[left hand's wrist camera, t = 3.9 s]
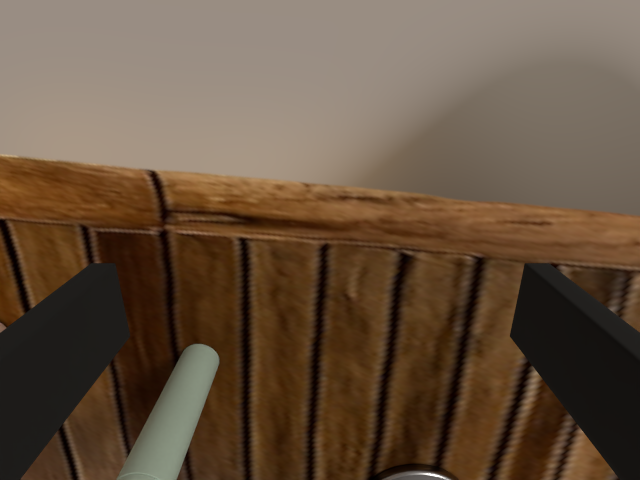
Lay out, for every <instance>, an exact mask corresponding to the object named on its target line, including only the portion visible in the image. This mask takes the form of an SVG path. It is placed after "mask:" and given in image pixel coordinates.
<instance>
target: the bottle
mask: <svg viewBox="0 0 640 480" xmlns="http://www.w3.org/2000/svg"><path fill="white" fill-rule="evenodd" d="M218 365H219V357H218V355H217V353H216V352H215V351H214V350H213V349H212V348H211V347H209V346H207V345H203V344H194V345H191V346H188V347H187V348H186V349H185V350H184V351H183V353H182V355H181V356H180V358H179V360H178V362H177V364H176V366H175V368H174V370H173V372H172V374H171V376H170V378H169V379H168V381H167V383H166V385H165V387H164V389H163V391H162V393H161V395H160V397H159V399H158V401H157V402H156V404H155V406H154V408H153V410H152V412H151V414H150V416H149V418H148V420H147V422H146V424H145V425H144V427H143V429H142V431H141V433H140V435H139V437H138V439H137V441H136V443H135V445H134V447H133V448H132V450H131V452H130V454H129V456H128V458H127V460H126V462H125V464H124V466H123V468H122V470H121V471H120V473H119V475H118V477H117V479H116V480H177V477H178V474H179V471H180V469H181V466H182V463H183V461H184V458H185V455H186V452H187V450H188V447H189V444H190V442H191V439H192V436H193V433H194V431H195V428H196V425H197V422H198V420H199V417H200V414H201V412H202V409H203V406H204V403H205V401H206V398H207V395H208V393H209V390H210V387H211V384H212V382H213V379H214V376H215V374H216V371H217V368H218Z"/></svg>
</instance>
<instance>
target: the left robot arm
mask: <svg viewBox="0 0 640 480" xmlns="http://www.w3.org/2000/svg"><path fill="white" fill-rule="evenodd" d="M129 337H130V333H129V328H128V323H127V319H126V314H125V309H124V304H123V299H122V294H121V290H120V285H119V280H118V275H117V270H116V265H115V263H91V264H90V265H89V266H87V267H86V268H85V269H83V270H82V271H81V272H79V273H78V274H77V275H75V276H74V277H73V278H71V279H70V280H69V281H68V282H66V283H65V284H64V285H62V286H61V287H60V288H58V289H57V290H56V291H54V292H53V293H52V294H50V295H49V296H48V297H46V298H45V299H44V300H43V301H41V302H40V303H39V304H37V305H36V306H35V307H33V308H32V309H31V310H29V311H28V312H27V313H25V314H24V315H23V316H22V317H20V318H19V319H18V320H16V321H15V322H14V323H12V324H11V325H10V326H8V327H7V328H6V329H4V330H3V331H2V332H1V333H0V480H20V479H21V477H22V476H23V475H24V474H25V472H26V471H27V470H28V468H29V467H30V466H31V464H32V463H33V462H34V461H35V459H36V458H37V457H38V455H39V454H40V453H41V451H42V450H43V449H44V448H45V446H46V445H47V444H48V442H49V441H50V440H51V438H52V437H53V436H54V435H55V433H56V432H57V431H58V429H59V428H60V427H61V425H62V424H63V423H64V422H65V420H66V419H67V418H68V416H69V415H70V414H71V412H72V411H73V410H74V409H75V407H76V406H77V405H78V403H79V402H80V401H81V399H82V398H83V397H84V396H85V394H86V393H87V392H88V390H89V389H90V388H91V386H92V385H93V384H94V383H95V381H96V380H97V379H98V377H99V376H100V375H101V373H102V372H103V371H104V370H105V368H106V367H107V366H108V364H109V363H110V362H111V360H112V359H113V358H114V357H115V355H116V354H117V353H118V351H119V350H120V349H121V347H122V346H123V345H124V343H125V342H126V341H127V340H128V338H129ZM510 337H511V338H512V340H513V341H514V342H515V343H516V345H517V346H518V347H519V349H520V350H521V351H522V353H523V354H524V355H525V357H526V358H527V359H528V360H529V362H530V363H531V364H532V366H533V367H534V368H535V370H536V371H537V372H538V373H539V375H540V376H541V377H542V379H543V380H544V381H545V383H546V384H547V385H548V386H549V388H550V389H551V390H552V392H553V393H554V394H555V396H556V397H557V398H558V399H559V401H560V402H561V403H562V405H563V406H564V407H565V409H566V410H567V411H568V412H569V414H570V415H571V416H572V418H573V419H574V420H575V422H576V423H577V424H578V425H579V427H580V428H581V429H582V431H583V432H584V433H585V435H586V436H587V437H588V438H589V440H590V441H591V442H592V444H593V445H594V446H595V448H596V449H597V450H598V451H599V453H600V454H601V455H602V457H603V458H604V459H605V461H606V462H607V463H608V464H609V466H610V467H611V468H612V470H613V471H614V472H615V474H616V475H617V476H618V477H619V479H620V480H640V333H639V332H638V331H637V330H636V329H634V328H633V327H632V326H630V325H629V324H628V323H626V322H625V321H624V320H622V319H621V318H620V317H618V316H617V315H616V314H615V313H613V312H612V311H611V310H609V309H608V308H607V307H605V306H604V305H603V304H601V303H600V302H599V301H597V300H596V299H595V298H594V297H592V296H591V295H590V294H588V293H587V292H586V291H584V290H583V289H582V288H580V287H579V286H578V285H576V284H575V283H574V282H572V281H571V280H570V279H569V278H567V277H566V276H565V275H563V274H562V273H561V272H559V271H558V270H557V269H555V268H554V267H553V266H551V265H550V264H549V263H525V265H524V270H523V275H522V280H521V285H520V290H519V294H518V299H517V304H516V309H515V314H514V319H513V323H512V328H511V333H510ZM372 480H458V479H457V478H456V477H455V476H454V475H452V474H451V473H449V472H448V471H446V470H444V469H441V468H438V467H435V466H430V465H423V464H412V465H404V466H399V467H395V468H392V469H389V470H387V471H385V472H383V473H381V474H379V475H378V476H376V477H375V478H374V479H372Z"/></svg>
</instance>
